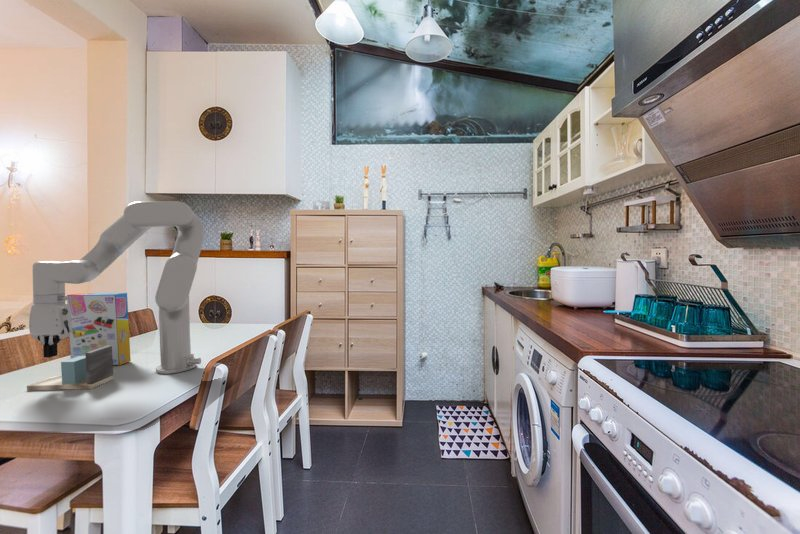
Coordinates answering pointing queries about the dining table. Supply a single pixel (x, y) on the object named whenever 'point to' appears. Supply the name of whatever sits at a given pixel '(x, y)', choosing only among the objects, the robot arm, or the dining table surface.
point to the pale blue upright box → (74, 370)
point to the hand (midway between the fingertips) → (50, 356)
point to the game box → (100, 324)
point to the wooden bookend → (96, 369)
